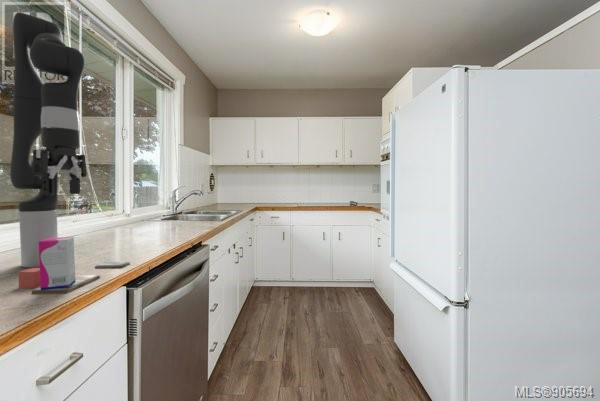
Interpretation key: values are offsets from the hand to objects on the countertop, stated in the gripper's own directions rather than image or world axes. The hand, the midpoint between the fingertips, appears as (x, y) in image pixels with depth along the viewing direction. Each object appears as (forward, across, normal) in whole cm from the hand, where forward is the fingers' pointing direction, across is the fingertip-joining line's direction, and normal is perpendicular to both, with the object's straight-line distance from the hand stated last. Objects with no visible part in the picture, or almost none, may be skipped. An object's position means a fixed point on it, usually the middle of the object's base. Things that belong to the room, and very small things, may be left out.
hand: (62, 194), depth 79 cm
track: (+23, -8, 0) cm, 24 cm away
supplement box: (+22, +3, 0) cm, 22 cm away
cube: (+21, 0, -6) cm, 22 cm away
